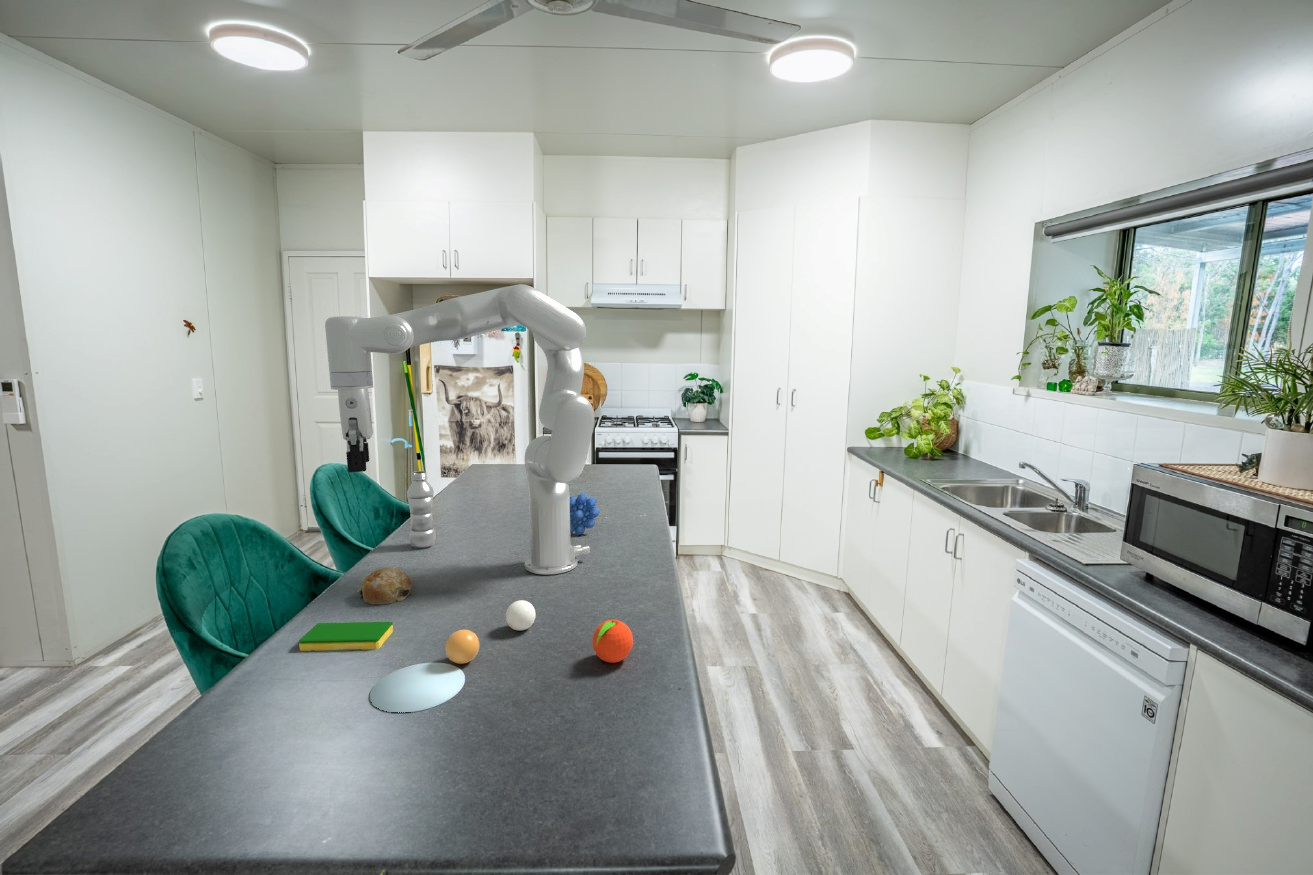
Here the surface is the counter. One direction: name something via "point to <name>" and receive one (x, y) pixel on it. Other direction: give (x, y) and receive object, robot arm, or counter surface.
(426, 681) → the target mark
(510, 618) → the cue ball
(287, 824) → the counter surface
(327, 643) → the dish sponge
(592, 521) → the grapes
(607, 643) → the clementine
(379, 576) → the bread roll
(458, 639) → the orange ball
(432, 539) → the plastic bottle
